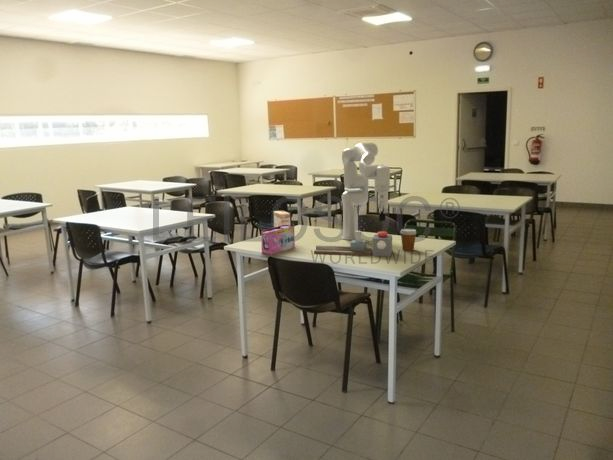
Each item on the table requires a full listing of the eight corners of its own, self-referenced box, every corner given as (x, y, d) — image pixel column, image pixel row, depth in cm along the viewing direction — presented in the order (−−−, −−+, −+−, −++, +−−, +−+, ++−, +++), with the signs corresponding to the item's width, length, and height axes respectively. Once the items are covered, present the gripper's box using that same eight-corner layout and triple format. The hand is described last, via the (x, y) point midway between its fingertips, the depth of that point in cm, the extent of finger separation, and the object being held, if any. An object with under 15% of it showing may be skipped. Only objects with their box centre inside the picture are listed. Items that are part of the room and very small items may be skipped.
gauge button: (378, 246, 298) (378, 231, 296) (387, 246, 296) (387, 231, 295) (377, 248, 292) (377, 233, 291) (386, 248, 291) (387, 233, 290)
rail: (318, 249, 310) (318, 243, 309) (373, 251, 302) (373, 245, 302) (314, 253, 299) (314, 247, 298) (370, 255, 291) (370, 249, 290)
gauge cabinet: (374, 251, 302) (374, 234, 300) (391, 251, 300) (392, 234, 298) (372, 255, 290) (372, 238, 288) (390, 256, 288) (390, 239, 286)
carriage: (352, 248, 302) (352, 229, 300) (365, 248, 301) (365, 230, 298) (350, 250, 296) (350, 232, 294) (364, 251, 294) (364, 232, 292)
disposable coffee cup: (415, 252, 297) (415, 231, 295) (398, 251, 301) (398, 231, 298) (417, 248, 306) (417, 228, 304) (401, 247, 309) (401, 228, 307)
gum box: (270, 255, 297) (269, 232, 295) (259, 253, 302) (258, 230, 300) (295, 247, 316) (294, 225, 314) (285, 246, 321) (284, 224, 318)
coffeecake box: (291, 243, 328) (290, 213, 325) (280, 244, 326) (279, 214, 322) (284, 239, 342) (283, 210, 338) (274, 240, 340) (273, 210, 336)
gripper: (388, 190, 280) (387, 223, 284) (390, 186, 295) (390, 218, 298) (374, 189, 282) (374, 222, 286) (377, 186, 296) (377, 217, 300)
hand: (382, 220), depth 292 cm, fingers closed
